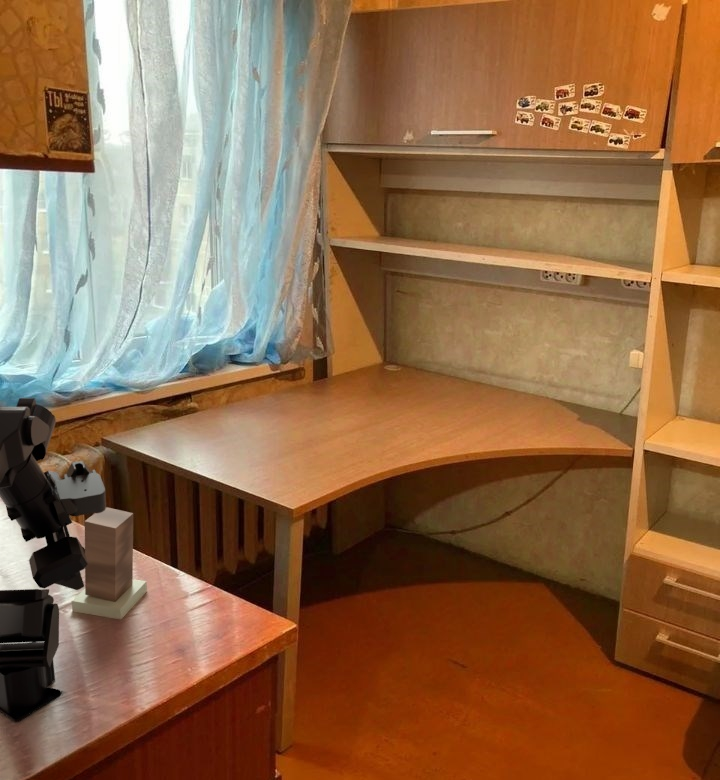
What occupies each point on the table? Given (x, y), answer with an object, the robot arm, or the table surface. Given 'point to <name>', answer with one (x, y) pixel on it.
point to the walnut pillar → (109, 554)
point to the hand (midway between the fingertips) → (73, 564)
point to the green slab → (110, 602)
